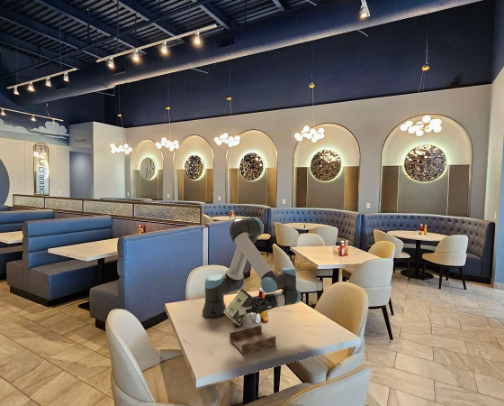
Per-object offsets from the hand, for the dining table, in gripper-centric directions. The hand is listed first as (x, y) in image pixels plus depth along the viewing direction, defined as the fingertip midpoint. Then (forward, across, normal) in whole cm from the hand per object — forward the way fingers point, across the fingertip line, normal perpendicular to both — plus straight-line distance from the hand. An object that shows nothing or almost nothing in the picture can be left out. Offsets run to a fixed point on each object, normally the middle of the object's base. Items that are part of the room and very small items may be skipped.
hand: (234, 308), depth 144 cm
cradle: (-10, 0, -20) cm, 22 cm away
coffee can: (+2, 0, -5) cm, 5 cm away
